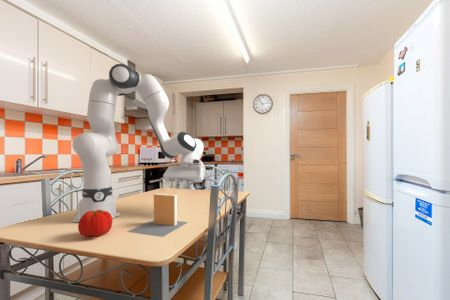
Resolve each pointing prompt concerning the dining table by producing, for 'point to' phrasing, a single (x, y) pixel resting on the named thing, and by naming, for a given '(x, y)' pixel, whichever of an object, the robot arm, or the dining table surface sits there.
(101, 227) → the tomato
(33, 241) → the dining table surface
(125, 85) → the robot arm
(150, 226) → the mat
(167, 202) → the tile
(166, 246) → the dining table surface
